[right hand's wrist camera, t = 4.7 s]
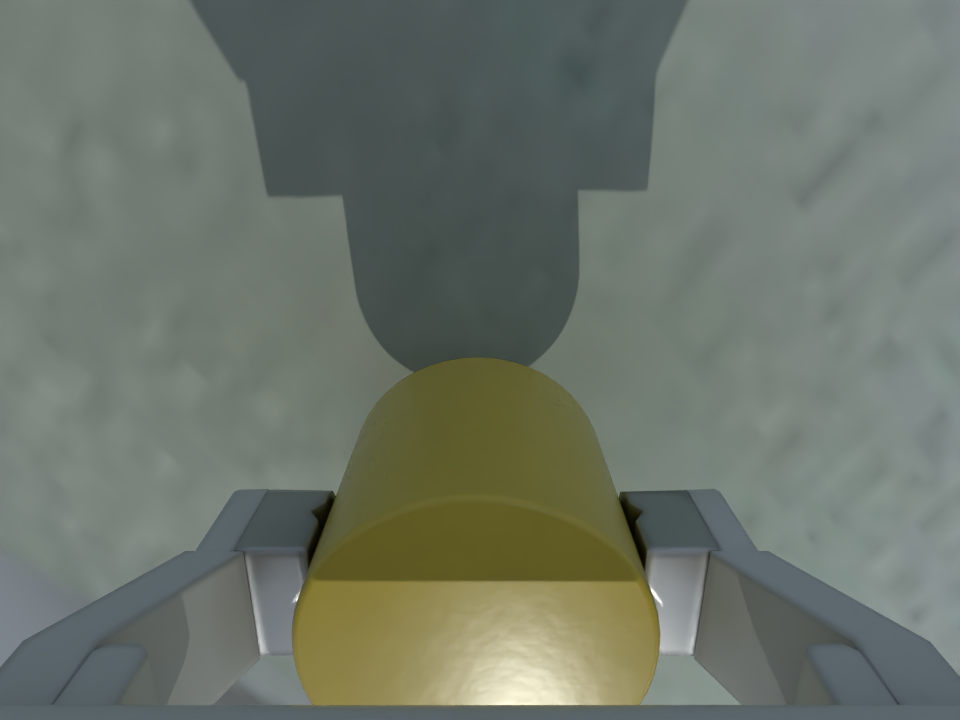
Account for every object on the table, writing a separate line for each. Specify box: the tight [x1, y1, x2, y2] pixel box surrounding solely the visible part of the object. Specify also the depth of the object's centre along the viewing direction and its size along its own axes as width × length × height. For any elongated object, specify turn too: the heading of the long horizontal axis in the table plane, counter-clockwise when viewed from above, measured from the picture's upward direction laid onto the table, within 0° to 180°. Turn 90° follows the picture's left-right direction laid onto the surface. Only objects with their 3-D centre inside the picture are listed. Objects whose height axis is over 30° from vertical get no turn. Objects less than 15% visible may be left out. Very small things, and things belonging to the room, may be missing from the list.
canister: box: [292, 357, 660, 705], centre depth 10 cm, size 4×4×4 cm
